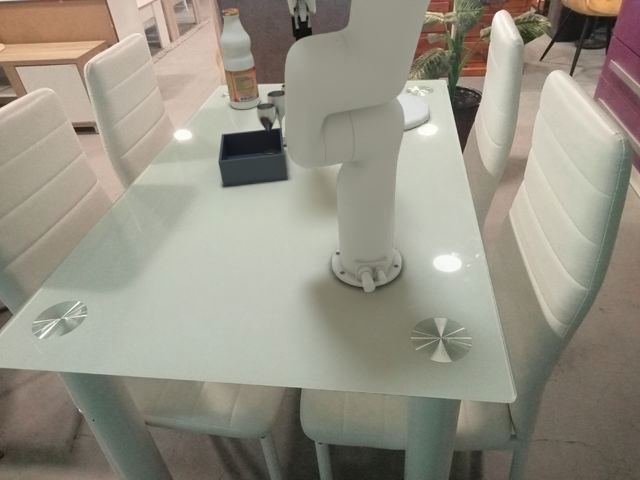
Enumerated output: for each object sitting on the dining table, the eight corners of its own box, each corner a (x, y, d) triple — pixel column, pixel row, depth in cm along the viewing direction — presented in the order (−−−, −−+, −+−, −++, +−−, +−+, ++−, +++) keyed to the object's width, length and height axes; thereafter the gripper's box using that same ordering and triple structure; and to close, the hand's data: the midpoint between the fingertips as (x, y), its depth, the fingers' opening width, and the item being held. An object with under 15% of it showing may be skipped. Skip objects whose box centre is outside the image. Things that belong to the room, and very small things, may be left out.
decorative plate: (338, 120, 129) (344, 87, 148) (339, 134, 131) (345, 100, 151) (433, 118, 126) (426, 85, 145) (432, 133, 128) (425, 98, 148)
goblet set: (276, 155, 122) (269, 105, 114) (257, 152, 125) (249, 103, 117) (324, 114, 142) (321, 69, 134) (307, 112, 144) (303, 67, 136)
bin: (287, 179, 114) (284, 154, 110) (223, 186, 113) (218, 162, 109) (284, 150, 126) (281, 127, 122) (226, 157, 125) (221, 134, 121)
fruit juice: (225, 107, 153) (206, 12, 136) (243, 97, 159) (228, 5, 143) (248, 111, 149) (231, 14, 132) (266, 101, 155) (252, 7, 138)
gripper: (320, -54, 79) (326, 53, 89) (310, -63, 93) (316, 30, 103) (275, -50, 79) (286, 57, 89) (272, -60, 93) (282, 34, 103)
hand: (302, 42), depth 96 cm, fingers open, 9 cm apart
